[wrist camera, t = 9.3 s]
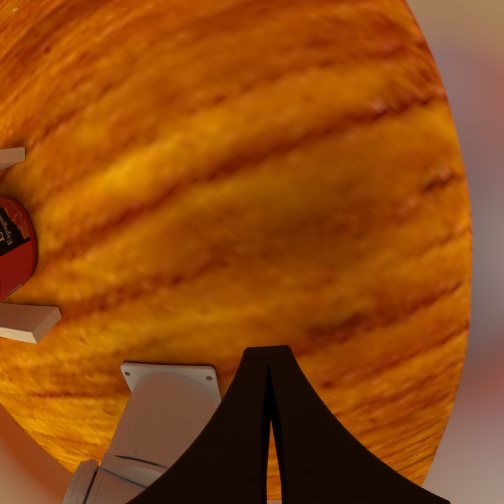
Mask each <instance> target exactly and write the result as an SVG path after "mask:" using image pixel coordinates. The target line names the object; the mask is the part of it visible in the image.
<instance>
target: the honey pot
mask: <svg viewBox="0 0 504 504" xmlns="http://www.w3.org/2000/svg"><path fill="white" fill-rule="evenodd" d="M267 504H282V501H280V500H267Z"/></svg>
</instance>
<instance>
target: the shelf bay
mask: <svg viewBox="0 0 504 504" xmlns="http://www.w3.org/2000/svg"><path fill="white" fill-rule="evenodd" d="M24 160H26V159H25V147H20V148H10V149H1V150H0V170H3V169H5V168H7V167H9V166H12V165H14V164H16V163H19V162H21V161H24ZM61 318H62V316H61V314H60V311H59V308H58V307H51V306H34V305H20V304H7V303H0V336H1V337H6V338H10V339H15V340H20V341H25V342H30V343H35V344H37V343H38V342H39V341H40V340H41V339H42V338H43V337H44V336H45V334H46V333H47V332H48V331H49V330H50V329H51V328H52V327H53V326H54V325H55V324H56V323H57V322H58V321H59V320H60V319H61Z"/></svg>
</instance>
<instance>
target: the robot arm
mask: <svg viewBox="0 0 504 504" xmlns="http://www.w3.org/2000/svg"><path fill="white" fill-rule="evenodd" d="M120 368H121V371H122V373H123V375H124V378H125V380H126V382H127V384H128V386H129V388H130V391H131V393H132V394H131V396H130V398H129V401H128V403H127V405H126V408H125V410H124V412H123V414H122V417H121V419H120V422H119V424H118V426H117V429H116V431H115V433H114V436H113V438H112V441H111V443H110V446H109V448H108V451H107V453H105V455H104V457H103V460H102V462H101V465H100V467H99V466H98V463H99V462H98V461H96V460H94V459H89V460H88V461H87V460H86V461H82V462H81V463H80V464H79V466H78V467H77V469H76V471H75V473H74V475H73V477H72V480H71V482H70V485H69V487H68V490H67V492H66V495H65V498H64V500H63V503H62V504H267V466H268V452H269V438H270V423H271V421H272V428H273V434H274V441H275V447H276V453H277V459H278V466H279V472H280V480H281V495H282V504H450V502H449V501H448V500H446V499H444V498H441V497H439V496H437V495H435V494H433V493H431V492H429V491H427V490H425V489H424V488H422V487H420V486H418V485H416V484H415V483H413V482H411V481H410V480H408V479H407V478H405V477H403V476H402V475H400V474H399V473H397V472H396V471H394V470H393V469H392V468H390V467H389V466H388V465H387V464H385V463H384V462H383V461H381V460H380V459H379V458H377V457H376V456H375V455H374V454H372V453H371V452H370V451H369V450H367V449H366V448H365V447H364V446H363V445H362V444H361V443H360V442H359V441H358V440H357V439H355V438H354V437H353V436H352V435H351V434H350V432H349V431H348V430H347V429H346V428H345V427H344V426H343V425H342V424H341V423H340V422H339V421H338V420H337V419H336V417H335V416H334V415H333V414H332V413H331V411H330V410H329V409H328V408H327V406H326V405H325V404H324V403H323V401H322V400H321V399H320V397H319V396H318V395H317V393H316V392H315V390H314V389H313V387H312V386H311V384H310V383H309V382H308V380H307V378H306V377H305V375H304V374H303V372H302V370H301V368H300V367H299V365H298V363H297V361H296V359H295V357H294V355H293V353H292V350H291V348H290V347H289V346H288V345H282V346H266V347H247V348H246V349H245V350H244V353H243V356H242V359H241V362H240V365H239V367H238V370H237V372H236V374H235V376H234V379H233V381H232V383H231V384H230V386H229V388H228V390H227V392H226V394H225V396H224V398H223V399H221V395H220V390H219V386H218V381H217V376H216V372H215V369H214V368H213V367H210V366H175V365H153V364H138V363H126V362H125V363H122V364H121V366H120ZM208 376H211V377H208Z"/></svg>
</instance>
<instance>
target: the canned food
mask: <svg viewBox="0 0 504 504" xmlns="http://www.w3.org/2000/svg"><path fill="white" fill-rule="evenodd" d="M36 258H37V247H36V239H35V234H34V230H33V227H32V224H31V221H30V219H29V217H28V215H27V213H26V212H25V210H24V209H23V207H22V206H21V205H20V204H19V203H18V202H17V201H15V200H14V199H11V198H6V197H0V302H2V301H3V300H4V299H6V298H7V297H8V296H9V295H11V294H12V293H13V292H15V291H16V290H17V289H19V288H20V287H21V286H23V285H24V284H25V283H26V282H27V280H28V279H29V277H30V276H31V274H32V272H33V271H34V268H35V265H36Z"/></svg>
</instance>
